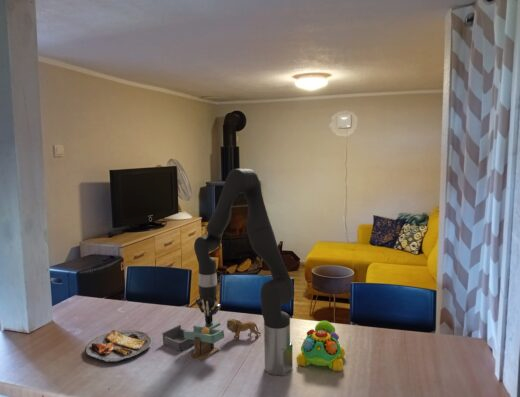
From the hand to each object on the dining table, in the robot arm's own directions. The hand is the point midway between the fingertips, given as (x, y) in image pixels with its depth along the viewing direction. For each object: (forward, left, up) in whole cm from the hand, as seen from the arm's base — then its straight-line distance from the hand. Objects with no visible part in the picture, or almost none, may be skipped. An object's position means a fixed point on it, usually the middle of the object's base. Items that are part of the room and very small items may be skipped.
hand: (208, 323), depth 170 cm
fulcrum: (-6, +9, -7) cm, 13 cm away
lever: (-6, +4, -1) cm, 7 cm away
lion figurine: (-10, -10, -8) cm, 16 cm away
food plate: (+25, +26, -8) cm, 37 cm away
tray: (+8, +9, -7) cm, 14 cm away
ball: (-7, +9, +2) cm, 12 cm away
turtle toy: (-45, -15, -8) cm, 48 cm away
